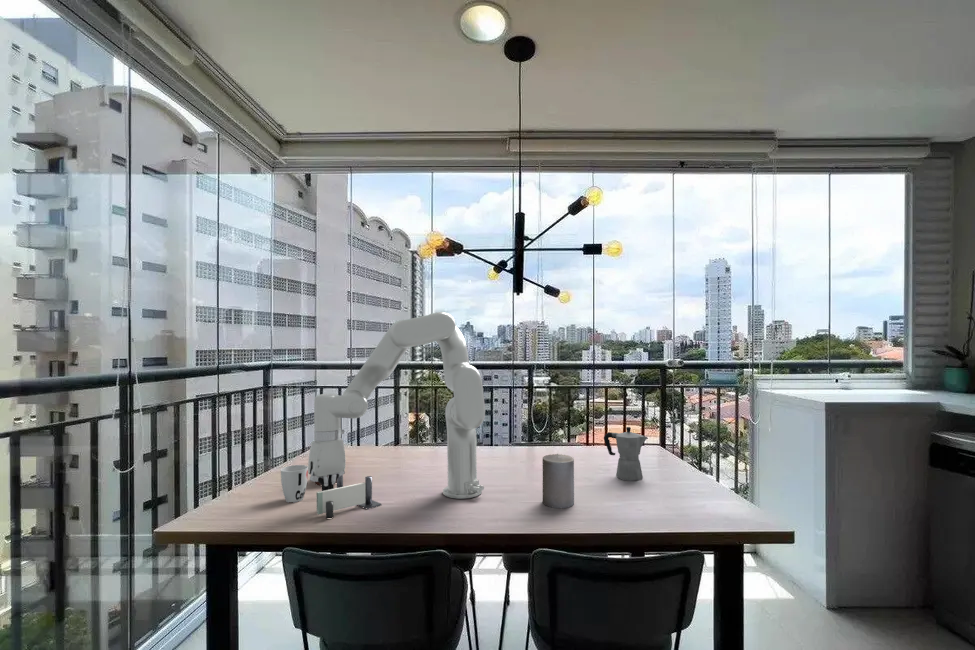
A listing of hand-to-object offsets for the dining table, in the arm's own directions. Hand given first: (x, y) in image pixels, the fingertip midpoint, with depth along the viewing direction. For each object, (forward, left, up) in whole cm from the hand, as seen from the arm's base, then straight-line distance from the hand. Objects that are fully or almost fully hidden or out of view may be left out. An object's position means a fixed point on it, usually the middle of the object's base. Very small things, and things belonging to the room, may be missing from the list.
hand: (327, 497), depth 145 cm
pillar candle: (-47, -51, -4) cm, 69 cm away
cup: (+17, +2, -4) cm, 17 cm away
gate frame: (+3, -5, -4) cm, 6 cm away
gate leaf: (-4, -2, -3) cm, 5 cm away
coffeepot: (-49, -90, -4) cm, 102 cm away
